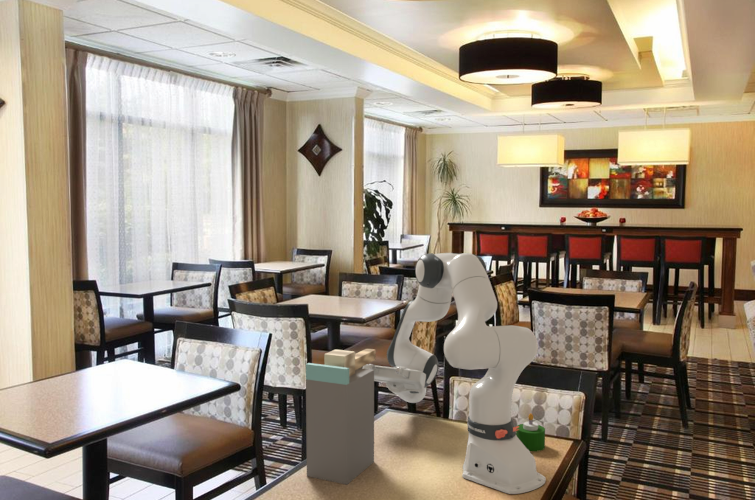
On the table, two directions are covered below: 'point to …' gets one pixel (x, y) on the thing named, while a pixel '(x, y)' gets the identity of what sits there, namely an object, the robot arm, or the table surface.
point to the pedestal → (339, 422)
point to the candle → (531, 435)
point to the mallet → (349, 359)
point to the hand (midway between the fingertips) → (384, 368)
